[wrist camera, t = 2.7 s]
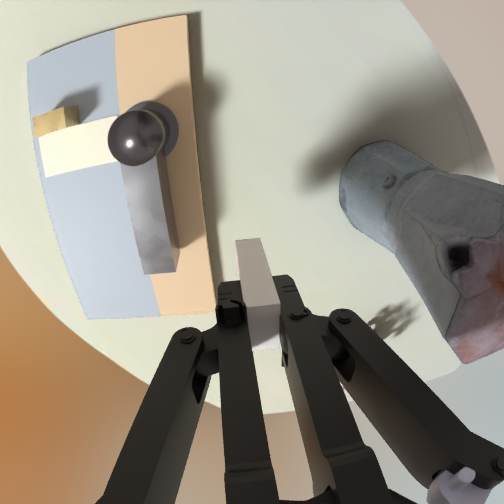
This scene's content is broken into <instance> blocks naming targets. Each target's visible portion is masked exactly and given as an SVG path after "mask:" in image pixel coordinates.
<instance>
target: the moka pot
mask: <svg viewBox="0 0 504 504" xmlns="http://www.w3.org/2000/svg"><path fill="white" fill-rule="evenodd" d="M339 200H340V205H341V207H342V209H343V211H344V213H345V215H346V216H347V218H348V219H349V221H350V223H351V224H352V225H353V227H354V228H356V229H357V230H359V231H360V232H362V233H364V234H365V235H367V236H368V237H370V238H371V239H373V240H374V241H376V242H377V243H379V244H380V245H382V246H384V247H385V248H386V249H388V250H389V251H391V252H392V253H394V254H395V256H396V258H397V259H398V261H399V263H400V264H401V266H402V267H403V269H404V270H405V272H406V273H407V275H408V277H409V278H410V280H411V281H412V283H413V284H414V286H415V288H416V289H417V291H418V292H419V294H420V296H421V297H422V299H423V301H424V303H425V305H426V306H427V308H428V310H429V312H430V314H431V315H432V317H433V319H434V321H435V323H436V325H437V327H438V329H439V330H440V332H441V334H442V336H443V338H444V339H445V340H446V341H447V343H448V344H449V345H450V347H451V348H452V350H453V351H454V352H455V354H456V355H457V357H458V358H459V360H460V361H461V362H462V363H463V364H469V363H471V362H473V361H476V360H478V359H480V358H483V357H485V356H488V355H490V354H492V353H494V352H496V351H498V350H501V349H503V348H504V185H500V184H497V183H494V182H490V181H487V180H483V179H479V178H475V177H471V176H466V175H458V174H449V173H447V172H444V171H441V170H439V169H437V168H436V167H435V166H433V165H431V164H430V163H428V162H427V161H425V160H424V159H422V158H420V157H419V156H417V155H416V154H414V153H412V152H410V151H408V150H406V149H405V148H403V147H400V146H398V145H396V144H394V143H392V142H390V141H382V142H376V143H372V144H369V145H365V146H363V147H361V148H360V149H359V150H358V151H357V152H356V153H355V154H354V155H353V156H352V157H351V159H350V160H349V161H348V163H347V164H346V166H345V168H344V169H343V171H342V174H341V178H340V185H339Z"/></svg>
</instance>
